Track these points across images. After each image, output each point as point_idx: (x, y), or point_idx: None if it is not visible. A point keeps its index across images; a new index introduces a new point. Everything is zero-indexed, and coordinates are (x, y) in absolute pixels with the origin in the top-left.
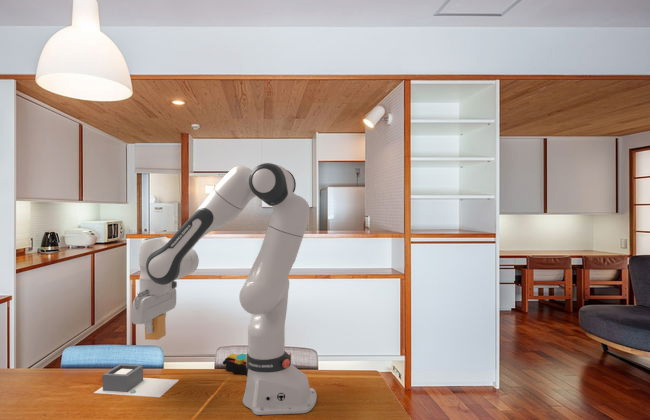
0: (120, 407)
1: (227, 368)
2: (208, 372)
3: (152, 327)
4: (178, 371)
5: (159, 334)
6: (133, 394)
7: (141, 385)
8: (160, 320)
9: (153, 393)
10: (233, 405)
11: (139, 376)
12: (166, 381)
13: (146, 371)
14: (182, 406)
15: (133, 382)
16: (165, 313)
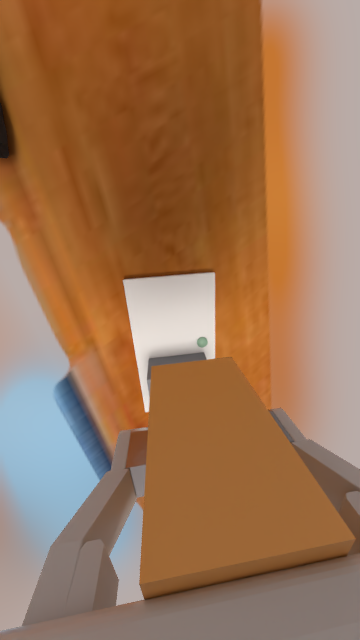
0: (245, 329)
1: (4, 142)
2: (35, 231)
3: (294, 441)
4: (66, 319)
5: (225, 374)
6: (211, 334)
7: (171, 345)
8: (251, 476)
9: (200, 297)
10: (210, 19)
11: (162, 364)
12: (140, 306)
13: (95, 385)
14: (231, 198)
15: (185, 360)
16: (51, 588)
